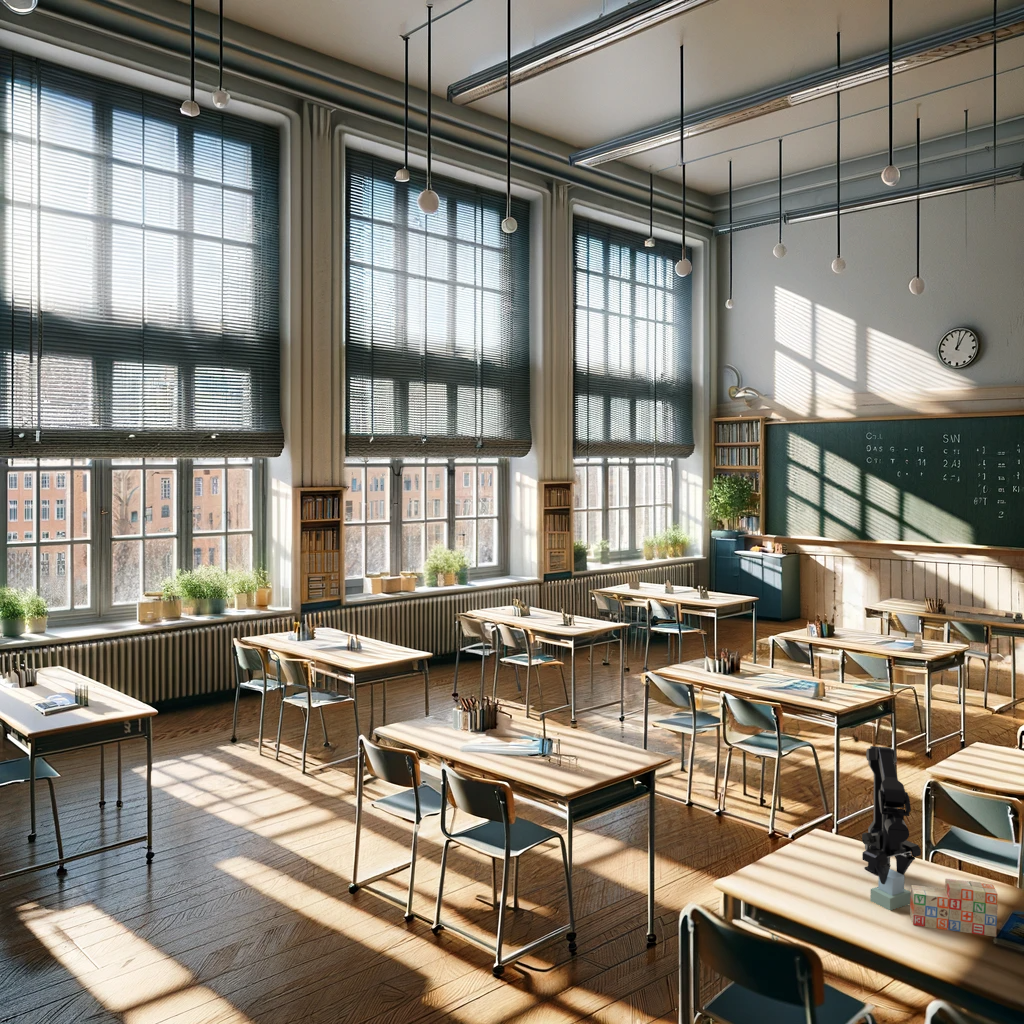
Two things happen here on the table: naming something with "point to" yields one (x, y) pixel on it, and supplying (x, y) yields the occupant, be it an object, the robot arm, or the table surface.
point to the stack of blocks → (956, 907)
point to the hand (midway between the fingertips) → (891, 881)
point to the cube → (892, 883)
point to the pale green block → (890, 898)
